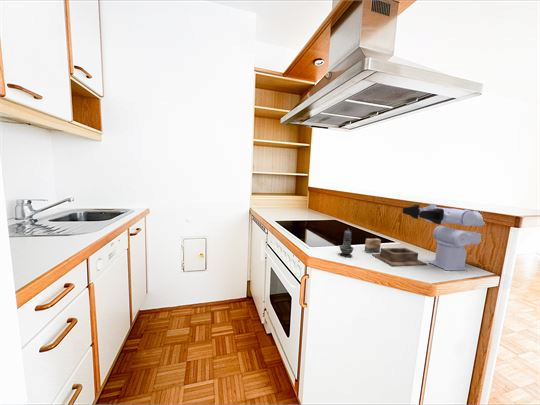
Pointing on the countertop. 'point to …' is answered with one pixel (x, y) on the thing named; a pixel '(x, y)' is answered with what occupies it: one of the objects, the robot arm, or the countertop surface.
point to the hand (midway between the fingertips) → (411, 212)
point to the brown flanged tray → (399, 257)
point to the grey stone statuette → (346, 245)
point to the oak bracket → (372, 245)
